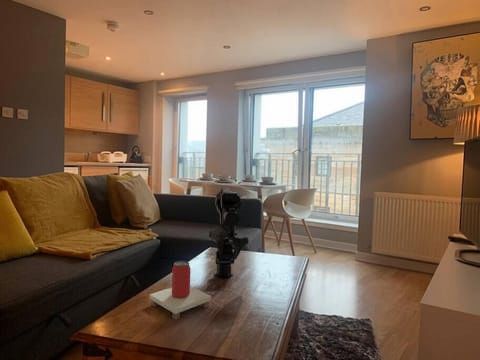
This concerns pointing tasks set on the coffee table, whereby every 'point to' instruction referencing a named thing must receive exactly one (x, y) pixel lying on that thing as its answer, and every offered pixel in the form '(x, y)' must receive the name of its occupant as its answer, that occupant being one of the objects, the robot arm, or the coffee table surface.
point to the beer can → (181, 279)
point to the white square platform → (179, 301)
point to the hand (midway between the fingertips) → (227, 256)
